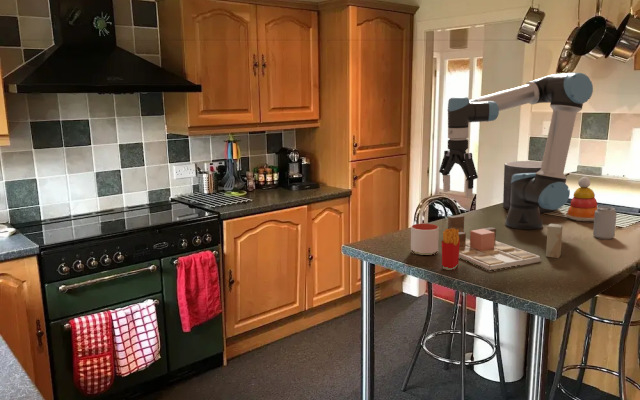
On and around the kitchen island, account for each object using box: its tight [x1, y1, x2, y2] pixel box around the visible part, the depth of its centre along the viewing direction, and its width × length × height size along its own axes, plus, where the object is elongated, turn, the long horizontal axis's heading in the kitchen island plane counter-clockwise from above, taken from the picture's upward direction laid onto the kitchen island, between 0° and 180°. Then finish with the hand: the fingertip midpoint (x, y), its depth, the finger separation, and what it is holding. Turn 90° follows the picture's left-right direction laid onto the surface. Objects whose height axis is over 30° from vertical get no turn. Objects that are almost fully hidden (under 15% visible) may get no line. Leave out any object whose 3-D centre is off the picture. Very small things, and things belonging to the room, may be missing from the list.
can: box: [592, 206, 618, 240], centre depth 203 cm, size 8×8×12 cm
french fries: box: [441, 228, 460, 268], centre depth 173 cm, size 9×4×13 cm, turn 143°
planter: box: [502, 160, 558, 214], centre depth 256 cm, size 25×25×22 cm
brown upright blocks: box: [447, 214, 499, 255], centre depth 192 cm, size 22×6×10 cm, turn 23°
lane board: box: [459, 240, 542, 270], centre depth 184 cm, size 24×22×2 cm
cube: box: [469, 228, 495, 251], centre depth 188 cm, size 6×6×6 cm
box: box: [545, 223, 564, 259], centre depth 182 cm, size 5×4×11 cm
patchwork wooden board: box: [459, 227, 536, 265], centre depth 184 cm, size 22×20×6 cm
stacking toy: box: [565, 176, 598, 222], centre depth 231 cm, size 14×14×20 cm
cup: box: [410, 223, 440, 253], centre depth 190 cm, size 10×10×10 cm
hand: (457, 194), depth 199 cm, fingers open, 13 cm apart
